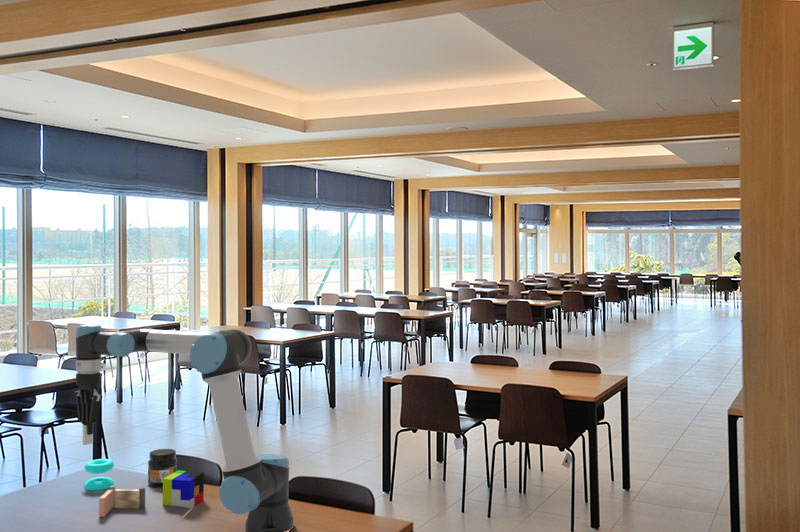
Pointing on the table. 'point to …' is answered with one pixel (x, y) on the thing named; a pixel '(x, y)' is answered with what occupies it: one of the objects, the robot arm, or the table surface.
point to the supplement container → (161, 466)
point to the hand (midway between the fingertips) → (87, 443)
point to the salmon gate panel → (107, 501)
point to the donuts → (96, 468)
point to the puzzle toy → (183, 489)
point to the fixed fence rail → (130, 498)
